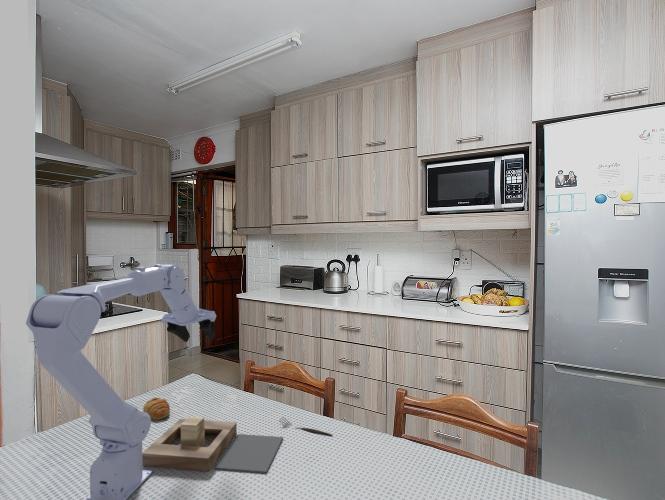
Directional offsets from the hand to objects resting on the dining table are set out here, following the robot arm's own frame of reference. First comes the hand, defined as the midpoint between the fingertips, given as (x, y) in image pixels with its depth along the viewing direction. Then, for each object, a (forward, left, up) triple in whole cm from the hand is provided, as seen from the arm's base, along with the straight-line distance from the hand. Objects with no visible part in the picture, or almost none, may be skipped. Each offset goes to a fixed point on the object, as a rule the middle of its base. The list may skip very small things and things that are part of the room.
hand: (200, 338), depth 100 cm
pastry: (+4, +16, -25) cm, 30 cm away
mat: (-12, -19, -24) cm, 33 cm away
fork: (0, -30, -25) cm, 39 cm away
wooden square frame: (-12, -4, -24) cm, 27 cm away
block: (-12, -4, -24) cm, 27 cm away
